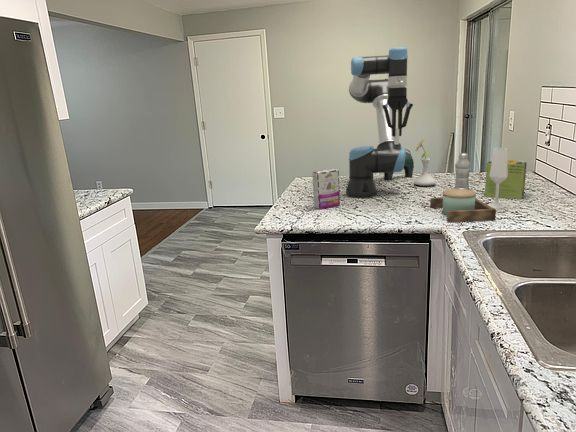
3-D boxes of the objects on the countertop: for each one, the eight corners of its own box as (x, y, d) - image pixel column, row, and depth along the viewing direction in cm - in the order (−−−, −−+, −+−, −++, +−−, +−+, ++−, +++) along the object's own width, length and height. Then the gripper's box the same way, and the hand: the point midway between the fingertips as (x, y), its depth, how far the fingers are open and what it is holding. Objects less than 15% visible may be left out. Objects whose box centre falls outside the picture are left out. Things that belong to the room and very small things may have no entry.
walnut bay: (448, 222, 165) (448, 211, 164) (430, 207, 187) (430, 198, 186) (495, 220, 164) (496, 209, 163) (471, 205, 186) (472, 196, 185)
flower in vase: (420, 182, 238) (421, 135, 232) (440, 184, 230) (442, 136, 224) (407, 186, 229) (408, 138, 223) (427, 188, 221) (429, 138, 215)
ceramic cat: (386, 181, 245) (386, 145, 240) (379, 179, 251) (379, 144, 245) (415, 177, 252) (416, 142, 247) (407, 175, 258) (408, 141, 253)
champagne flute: (483, 205, 185) (487, 148, 178) (495, 203, 187) (499, 147, 181) (496, 209, 179) (501, 150, 172) (508, 206, 181) (513, 148, 175)
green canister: (437, 215, 175) (438, 193, 172) (448, 208, 184) (449, 188, 181) (468, 219, 167) (470, 197, 165) (478, 212, 176) (480, 190, 174)
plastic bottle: (470, 198, 197) (473, 154, 192) (454, 198, 199) (456, 154, 194) (467, 195, 204) (470, 152, 198) (452, 195, 205) (454, 152, 200)
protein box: (522, 199, 192) (525, 164, 188) (484, 196, 200) (486, 162, 196) (524, 194, 201) (527, 160, 197) (487, 192, 209) (490, 159, 205)
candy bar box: (334, 203, 201) (333, 168, 197) (340, 205, 197) (339, 169, 193) (313, 207, 196) (311, 171, 192) (319, 209, 192) (317, 172, 188)
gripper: (383, 87, 180) (383, 145, 186) (415, 86, 179) (414, 144, 185) (380, 88, 187) (379, 143, 193) (410, 86, 186) (409, 142, 193)
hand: (396, 144), depth 189 cm, fingers closed
